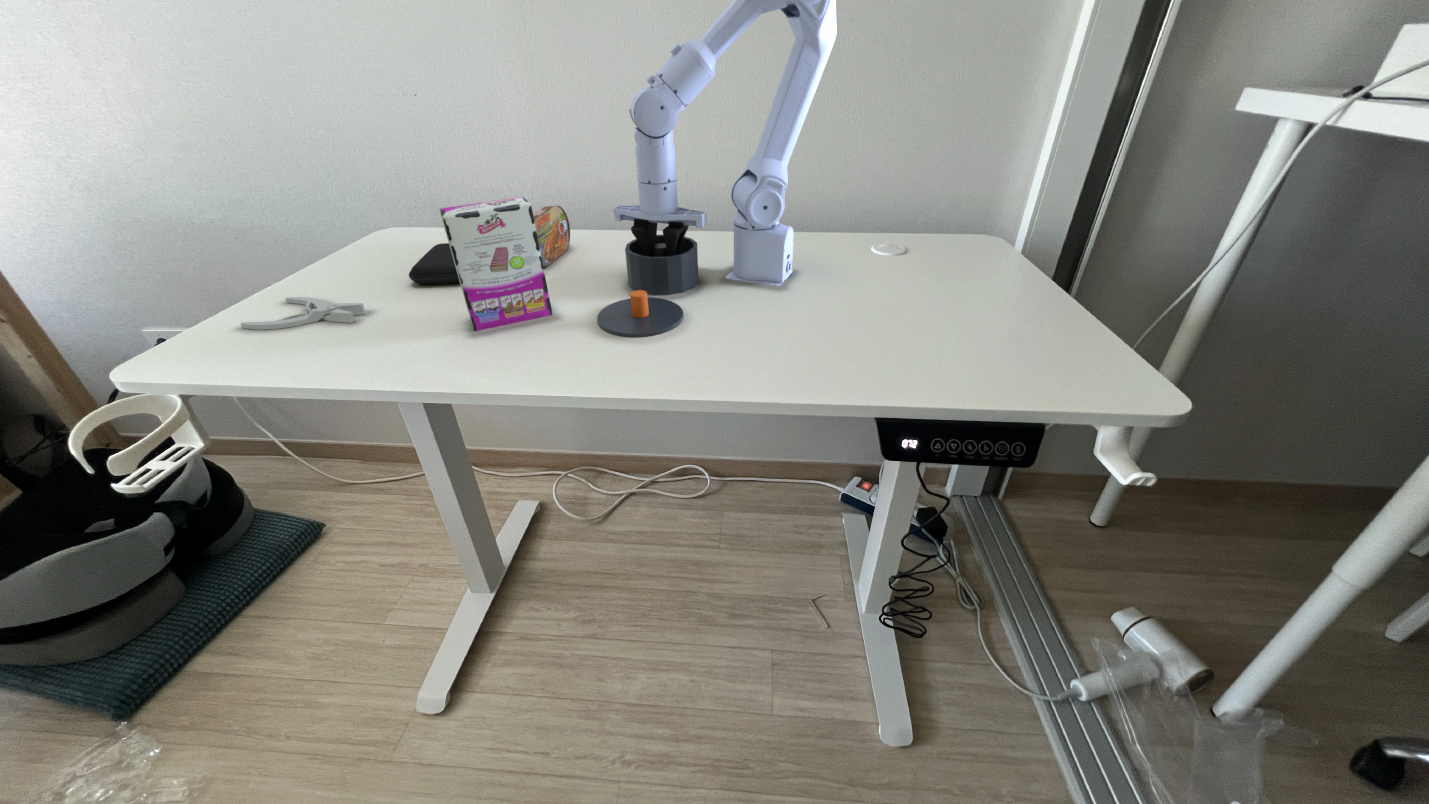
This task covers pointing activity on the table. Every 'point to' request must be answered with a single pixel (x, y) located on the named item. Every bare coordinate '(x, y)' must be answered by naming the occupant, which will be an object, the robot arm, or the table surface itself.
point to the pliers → (312, 314)
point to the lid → (640, 316)
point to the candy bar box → (498, 261)
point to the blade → (660, 250)
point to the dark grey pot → (662, 269)
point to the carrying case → (435, 267)
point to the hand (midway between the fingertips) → (662, 268)
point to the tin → (552, 232)
